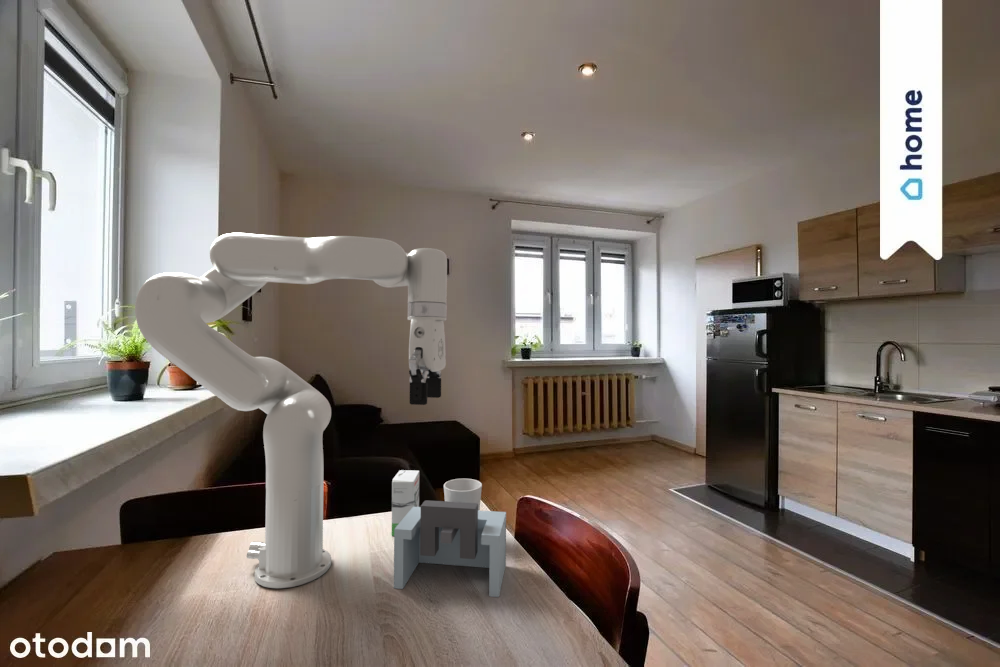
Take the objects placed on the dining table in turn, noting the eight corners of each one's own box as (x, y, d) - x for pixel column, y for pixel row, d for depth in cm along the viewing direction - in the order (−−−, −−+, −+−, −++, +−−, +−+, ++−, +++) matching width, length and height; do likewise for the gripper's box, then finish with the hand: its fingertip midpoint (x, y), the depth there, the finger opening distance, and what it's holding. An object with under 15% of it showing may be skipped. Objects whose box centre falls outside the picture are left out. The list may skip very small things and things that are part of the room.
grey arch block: (477, 551, 76) (478, 503, 77) (474, 559, 74) (475, 509, 74) (424, 548, 78) (425, 500, 78) (420, 555, 75) (420, 505, 75)
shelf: (393, 588, 74) (394, 529, 74) (412, 558, 84) (413, 506, 84) (498, 597, 72) (499, 536, 72) (505, 565, 81) (506, 512, 82)
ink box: (413, 536, 93) (414, 481, 93) (390, 536, 93) (391, 481, 93) (419, 519, 102) (420, 469, 102) (398, 519, 102) (398, 469, 102)
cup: (475, 553, 86) (476, 492, 86) (437, 549, 88) (438, 489, 88) (485, 535, 94) (485, 479, 94) (449, 532, 95) (450, 477, 95)
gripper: (433, 310, 76) (432, 408, 76) (456, 315, 93) (455, 395, 93) (392, 310, 77) (391, 407, 77) (422, 315, 94) (421, 394, 94)
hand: (426, 400), depth 85 cm, fingers open, 9 cm apart
